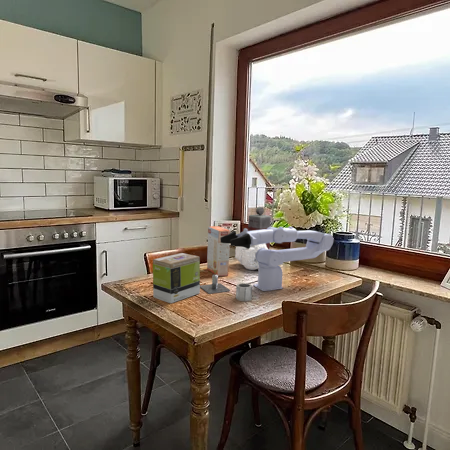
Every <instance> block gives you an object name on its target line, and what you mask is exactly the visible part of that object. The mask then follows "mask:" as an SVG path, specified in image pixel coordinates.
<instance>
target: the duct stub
mask: <svg viewBox="0 0 450 450" xmlns="http://www.w3.org/2000/svg"><path fill="white" fill-rule="evenodd" d="M211 278H212V279H211V284H202V285H201V284H200V289H202V290H203V291H205V293H207V294H209V295H210V294H218V293H225V292H227V293H228V292H230V291H231V289H230V288H228V287H227V286H225V285H224V284H223V283H221V282H219V276H218V275H215V274H212V276H211Z"/></svg>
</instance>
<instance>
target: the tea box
mask: <svg viewBox="0 0 450 450" xmlns="http://www.w3.org/2000/svg"><path fill="white" fill-rule="evenodd" d="M200 260H201V259H200V256H198V255H193V254H188V253H183V252H179V253H175V254H171V255H170V254H169V255H166V256H162V257H158V258H157V257H156V258H153V259H152V291H153V292H152V293H153V295H152V296H153V298H154V299H157V300H160V301H163V302H166V303H169V304H174V303H176V302H179V301H181V300H184V299H187V298H190V297H193V296H195V295H198V294H200V293H201V287H200V285H201V268H200V267H201V266H200V265H201V264H200V263H201V262H200Z"/></svg>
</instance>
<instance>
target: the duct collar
mask: <svg viewBox="0 0 450 450" xmlns="http://www.w3.org/2000/svg"><path fill="white" fill-rule="evenodd" d="M235 287H236V288H235V299H236V300H237V301H241V302H251V300H252V299H253V285H252V284H250V283H245V282H240V283H237V284H236V286H235Z"/></svg>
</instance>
